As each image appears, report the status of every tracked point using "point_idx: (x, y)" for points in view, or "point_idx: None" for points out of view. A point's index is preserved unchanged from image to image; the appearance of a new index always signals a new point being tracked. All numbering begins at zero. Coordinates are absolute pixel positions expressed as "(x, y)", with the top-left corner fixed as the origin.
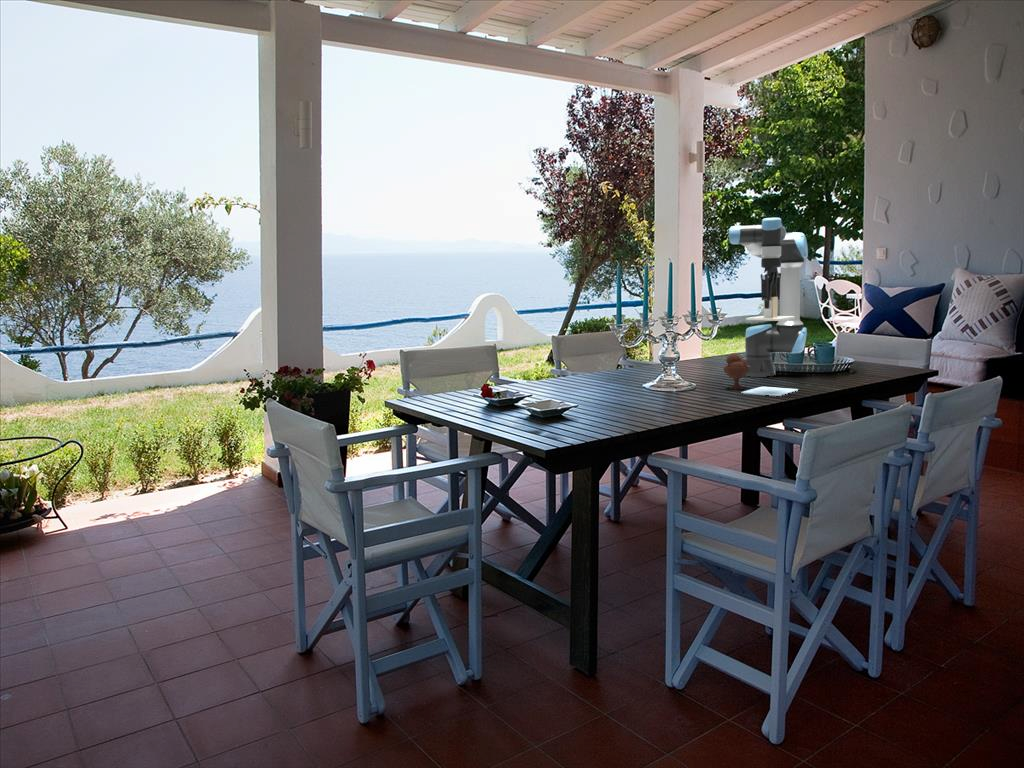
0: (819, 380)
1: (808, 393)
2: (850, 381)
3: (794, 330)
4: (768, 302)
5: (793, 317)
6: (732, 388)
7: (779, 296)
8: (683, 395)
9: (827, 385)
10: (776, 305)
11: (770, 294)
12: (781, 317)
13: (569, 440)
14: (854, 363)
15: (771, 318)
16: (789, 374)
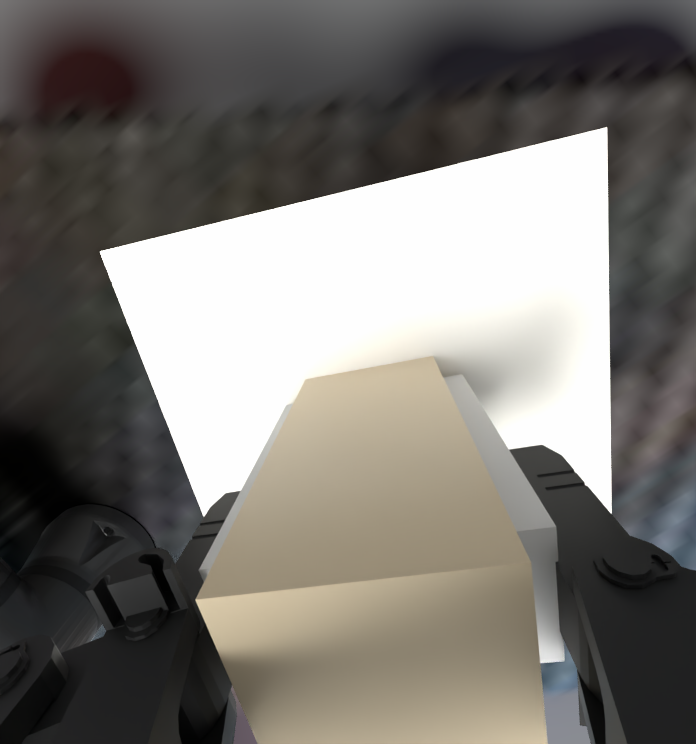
0: (21, 339)
1: (301, 156)
2: None
3: None
4: (581, 521)
5: (144, 241)
6: None
7: (8, 661)
8: (629, 462)
9: (86, 237)
10: (314, 449)
11: (680, 735)
12: (351, 280)
13: None
14: None
15: (588, 272)
16: (10, 492)
